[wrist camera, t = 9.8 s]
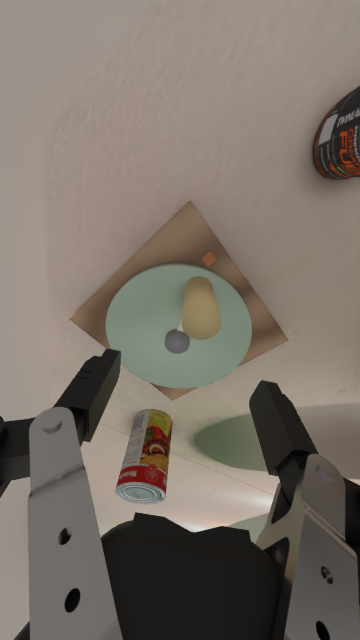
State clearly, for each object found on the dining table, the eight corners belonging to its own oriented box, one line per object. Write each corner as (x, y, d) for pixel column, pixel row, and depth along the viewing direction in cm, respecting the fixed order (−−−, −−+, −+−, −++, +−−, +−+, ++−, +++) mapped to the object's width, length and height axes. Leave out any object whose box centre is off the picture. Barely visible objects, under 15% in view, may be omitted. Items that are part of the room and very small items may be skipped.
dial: (212, 390, 31) (219, 450, 24) (103, 358, 29) (70, 413, 21) (276, 293, 22) (321, 339, 15) (125, 237, 20) (83, 256, 12)
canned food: (158, 435, 43) (148, 508, 33) (128, 421, 41) (106, 494, 31) (179, 420, 40) (175, 495, 29) (147, 404, 37) (131, 479, 27)
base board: (282, 331, 28) (289, 341, 26) (173, 391, 35) (172, 402, 33) (190, 200, 20) (190, 200, 18) (77, 312, 28) (68, 320, 26)
